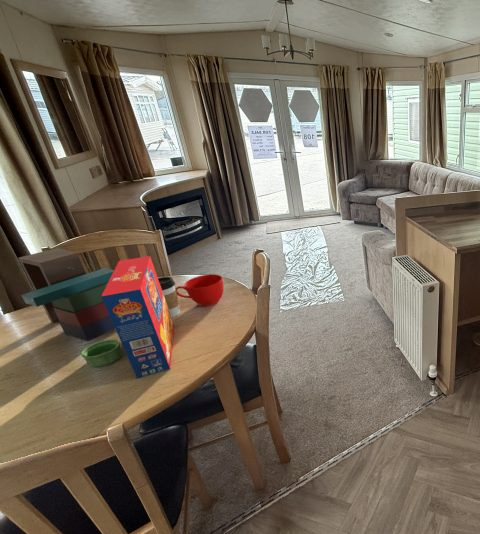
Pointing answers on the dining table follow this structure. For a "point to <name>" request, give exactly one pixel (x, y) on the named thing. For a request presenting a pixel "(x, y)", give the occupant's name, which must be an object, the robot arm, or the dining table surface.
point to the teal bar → (67, 287)
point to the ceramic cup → (204, 289)
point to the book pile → (84, 313)
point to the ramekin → (102, 352)
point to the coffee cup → (170, 295)
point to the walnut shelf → (51, 271)
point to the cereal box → (140, 315)
